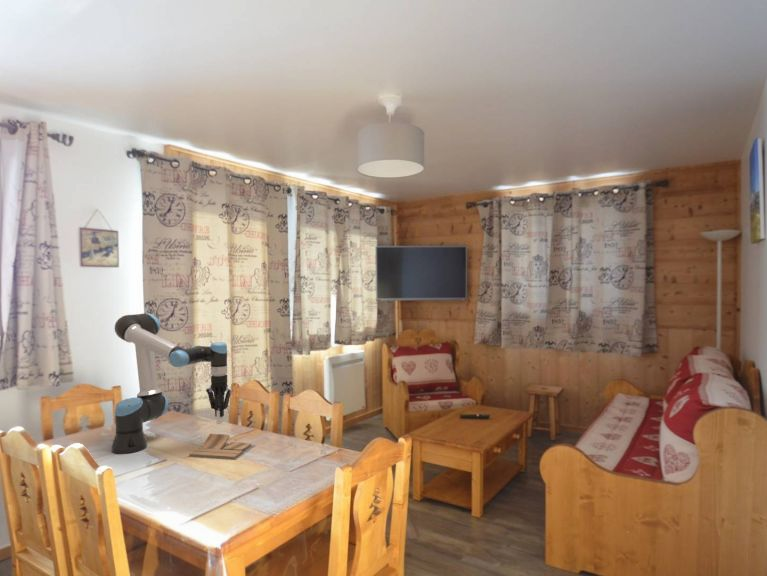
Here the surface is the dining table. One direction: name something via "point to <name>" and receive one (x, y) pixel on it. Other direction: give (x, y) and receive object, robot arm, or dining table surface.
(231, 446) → the plank
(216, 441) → the plank
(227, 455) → the underlay
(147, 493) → the dining table surface
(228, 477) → the dining table surface
